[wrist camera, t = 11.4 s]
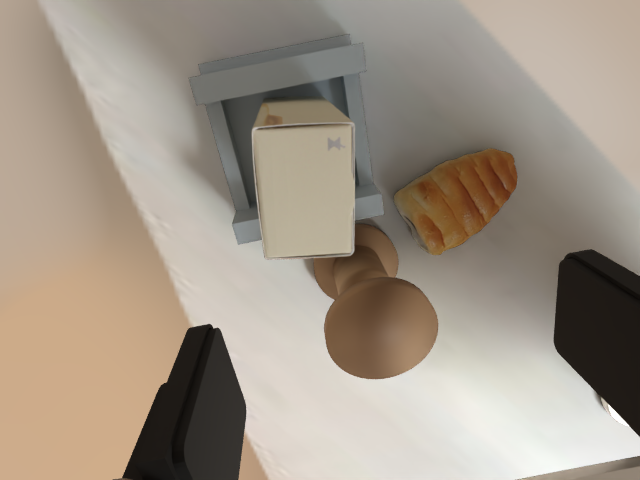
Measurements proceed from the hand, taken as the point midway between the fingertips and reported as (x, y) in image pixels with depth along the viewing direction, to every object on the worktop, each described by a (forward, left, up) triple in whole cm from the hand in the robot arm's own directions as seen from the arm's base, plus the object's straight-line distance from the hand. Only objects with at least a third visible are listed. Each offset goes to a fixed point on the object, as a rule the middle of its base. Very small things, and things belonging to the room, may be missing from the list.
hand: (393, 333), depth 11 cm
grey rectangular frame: (+2, -2, -21) cm, 21 cm away
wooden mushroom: (-1, +9, -21) cm, 22 cm away
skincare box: (+2, -2, -20) cm, 20 cm away
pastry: (-9, +5, -21) cm, 24 cm away
